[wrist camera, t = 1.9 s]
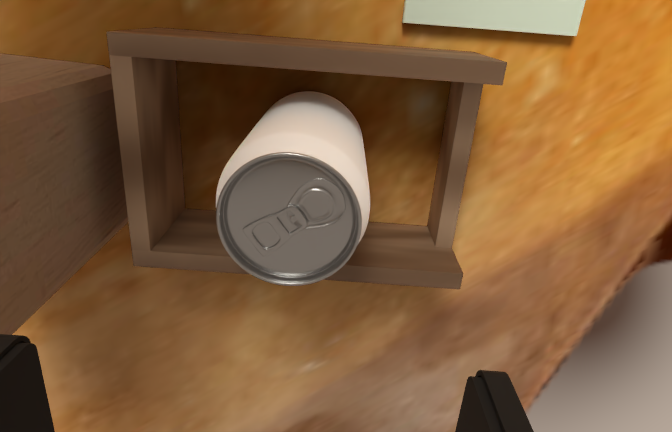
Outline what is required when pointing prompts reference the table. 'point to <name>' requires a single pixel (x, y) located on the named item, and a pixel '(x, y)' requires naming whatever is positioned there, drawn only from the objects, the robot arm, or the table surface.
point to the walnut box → (288, 53)
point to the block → (54, 177)
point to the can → (296, 192)
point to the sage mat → (499, 14)
